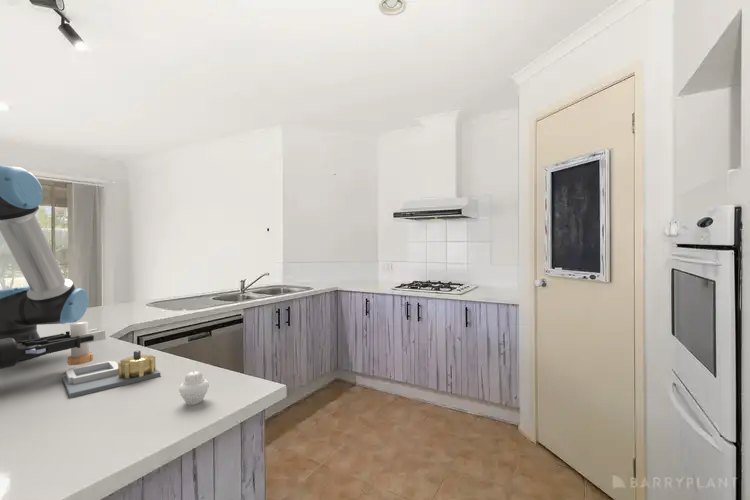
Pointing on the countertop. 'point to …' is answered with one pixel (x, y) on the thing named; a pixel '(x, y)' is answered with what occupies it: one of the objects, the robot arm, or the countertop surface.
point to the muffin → (194, 388)
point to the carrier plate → (97, 378)
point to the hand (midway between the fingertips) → (100, 333)
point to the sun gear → (136, 365)
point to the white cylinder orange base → (81, 353)
